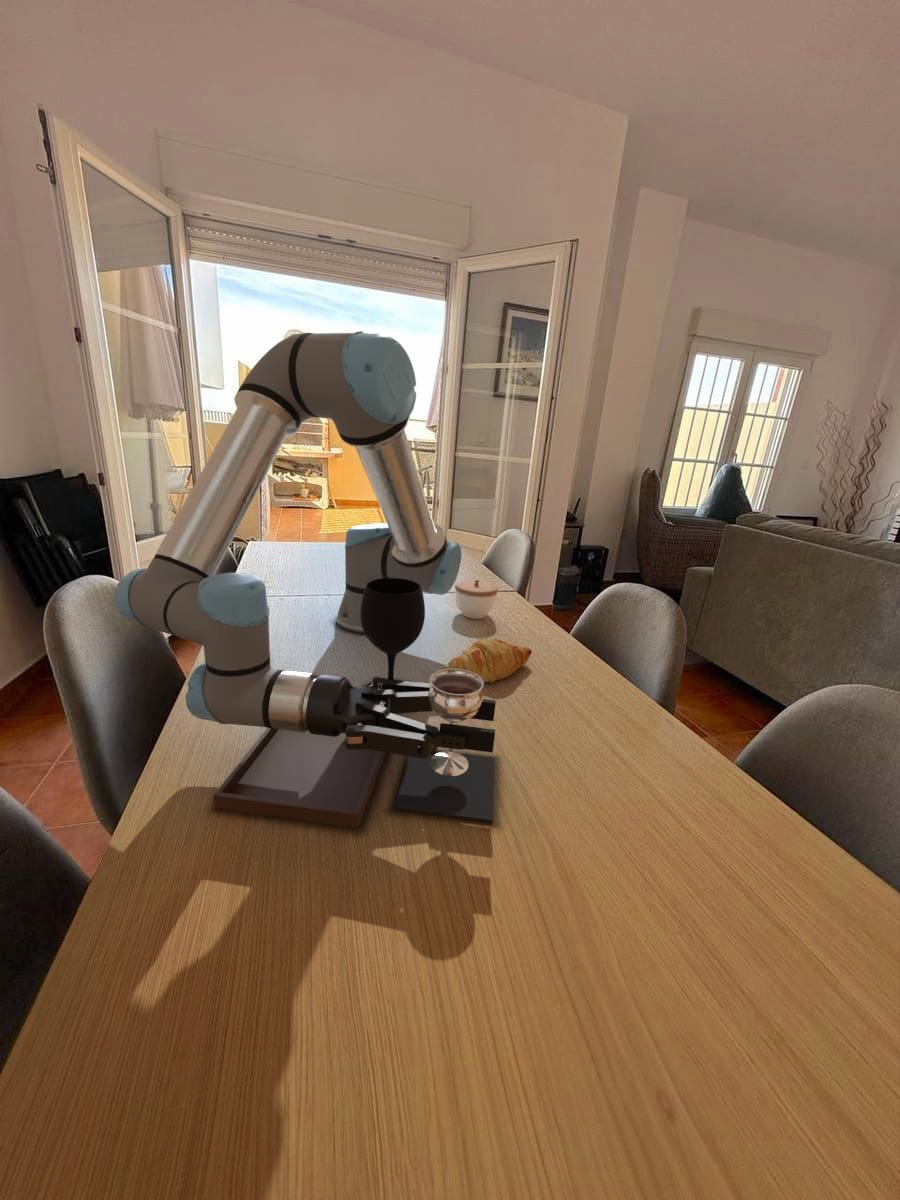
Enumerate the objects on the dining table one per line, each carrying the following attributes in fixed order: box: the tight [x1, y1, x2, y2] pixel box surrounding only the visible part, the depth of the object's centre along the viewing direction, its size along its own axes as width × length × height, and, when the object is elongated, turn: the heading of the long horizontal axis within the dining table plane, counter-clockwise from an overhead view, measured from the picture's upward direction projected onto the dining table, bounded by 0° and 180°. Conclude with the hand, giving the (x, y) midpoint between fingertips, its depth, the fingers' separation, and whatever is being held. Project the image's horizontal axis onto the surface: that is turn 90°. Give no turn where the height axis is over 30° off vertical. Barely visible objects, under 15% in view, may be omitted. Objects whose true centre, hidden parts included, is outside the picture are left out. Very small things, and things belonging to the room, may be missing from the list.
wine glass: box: [360, 578, 426, 705], centre depth 80 cm, size 10×10×20 cm
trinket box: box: [454, 578, 499, 619], centre depth 122 cm, size 11×11×9 cm
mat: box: [393, 749, 495, 824], centre depth 64 cm, size 12×12×1 cm
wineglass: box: [428, 669, 485, 776], centre depth 61 cm, size 7×7×12 cm
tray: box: [213, 727, 387, 829], centre depth 65 cm, size 19×17×2 cm
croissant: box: [440, 637, 533, 683], centre depth 93 cm, size 21×10×8 cm, turn 123°
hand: (493, 725), depth 60 cm, fingers closed on wineglass, 6 cm apart
